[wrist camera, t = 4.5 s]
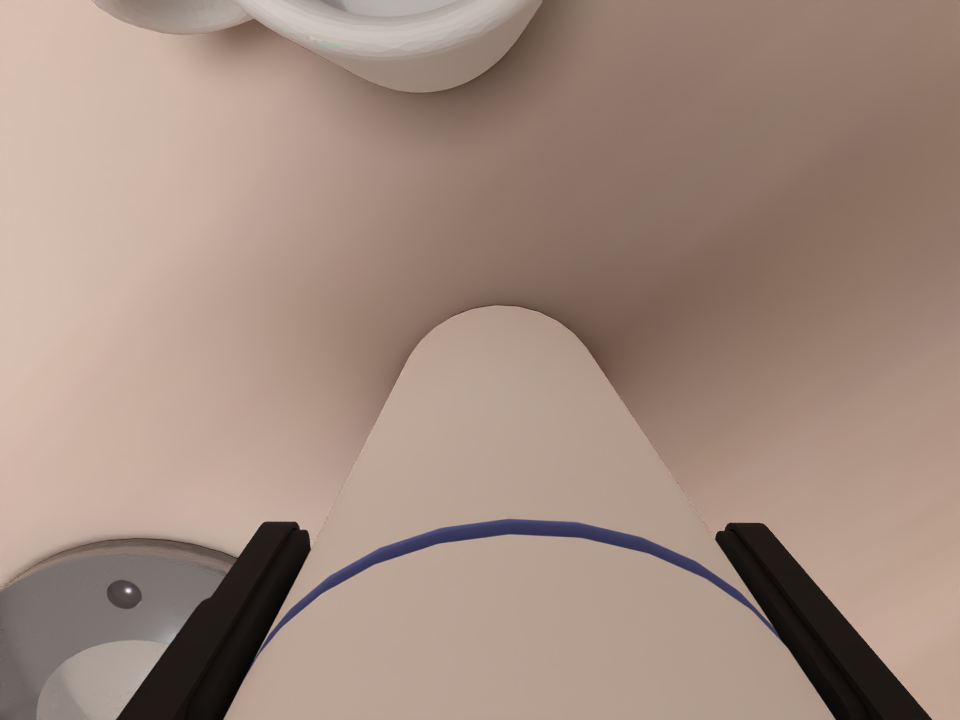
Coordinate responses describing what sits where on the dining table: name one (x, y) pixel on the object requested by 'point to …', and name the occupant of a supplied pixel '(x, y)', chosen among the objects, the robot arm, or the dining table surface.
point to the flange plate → (97, 624)
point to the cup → (361, 32)
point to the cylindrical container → (517, 560)
